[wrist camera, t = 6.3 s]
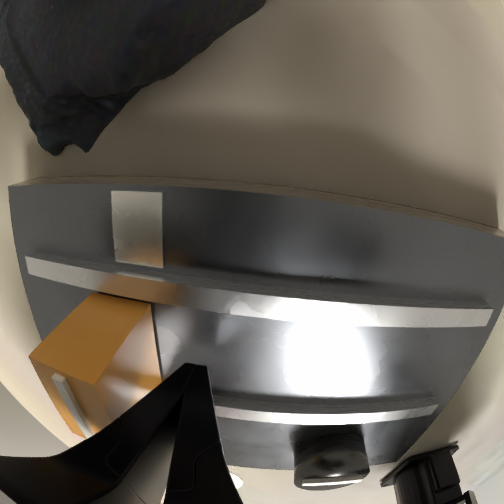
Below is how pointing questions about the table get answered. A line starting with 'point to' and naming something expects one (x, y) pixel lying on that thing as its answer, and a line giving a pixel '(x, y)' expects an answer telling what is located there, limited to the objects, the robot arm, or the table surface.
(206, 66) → the table surface
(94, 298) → the block
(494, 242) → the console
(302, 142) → the table surface
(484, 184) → the table surface
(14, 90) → the dark slate chunk
